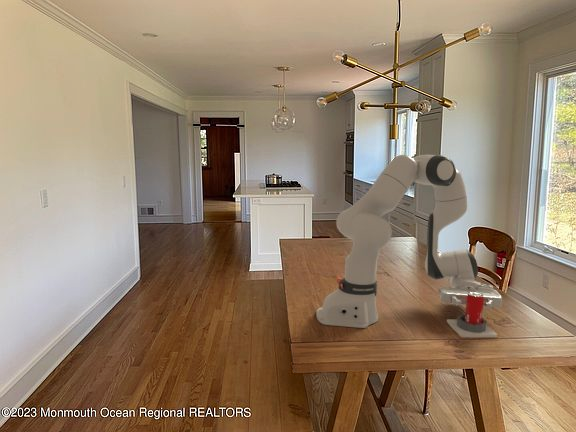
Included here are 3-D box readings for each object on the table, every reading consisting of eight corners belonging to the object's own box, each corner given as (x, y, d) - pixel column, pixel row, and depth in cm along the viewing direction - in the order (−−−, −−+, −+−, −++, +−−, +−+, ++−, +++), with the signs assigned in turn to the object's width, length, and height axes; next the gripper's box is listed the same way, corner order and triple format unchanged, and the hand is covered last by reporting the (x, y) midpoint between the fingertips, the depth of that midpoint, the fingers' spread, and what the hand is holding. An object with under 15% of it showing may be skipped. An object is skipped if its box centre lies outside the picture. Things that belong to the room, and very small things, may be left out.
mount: (461, 337, 139) (462, 327, 138) (446, 322, 150) (447, 312, 150) (497, 337, 139) (498, 327, 138) (480, 322, 151) (480, 312, 150)
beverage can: (467, 323, 147) (470, 290, 145) (483, 327, 144) (486, 294, 142) (462, 327, 144) (464, 294, 142) (477, 332, 140) (480, 298, 138)
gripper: (437, 280, 158) (442, 293, 144) (497, 285, 153) (507, 299, 140) (436, 297, 159) (440, 310, 145) (495, 302, 154) (505, 317, 141)
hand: (473, 305), depth 142 cm, fingers open, 8 cm apart
